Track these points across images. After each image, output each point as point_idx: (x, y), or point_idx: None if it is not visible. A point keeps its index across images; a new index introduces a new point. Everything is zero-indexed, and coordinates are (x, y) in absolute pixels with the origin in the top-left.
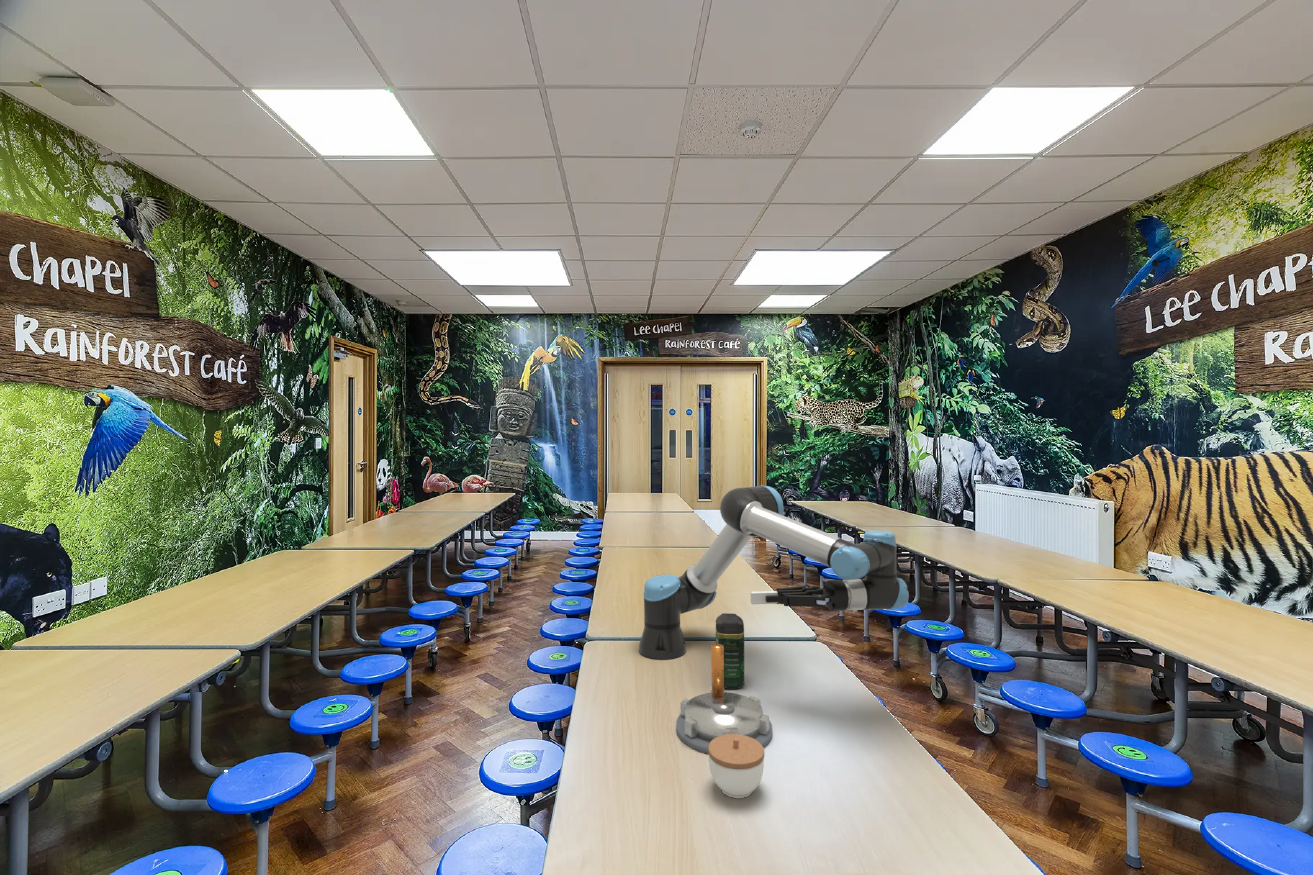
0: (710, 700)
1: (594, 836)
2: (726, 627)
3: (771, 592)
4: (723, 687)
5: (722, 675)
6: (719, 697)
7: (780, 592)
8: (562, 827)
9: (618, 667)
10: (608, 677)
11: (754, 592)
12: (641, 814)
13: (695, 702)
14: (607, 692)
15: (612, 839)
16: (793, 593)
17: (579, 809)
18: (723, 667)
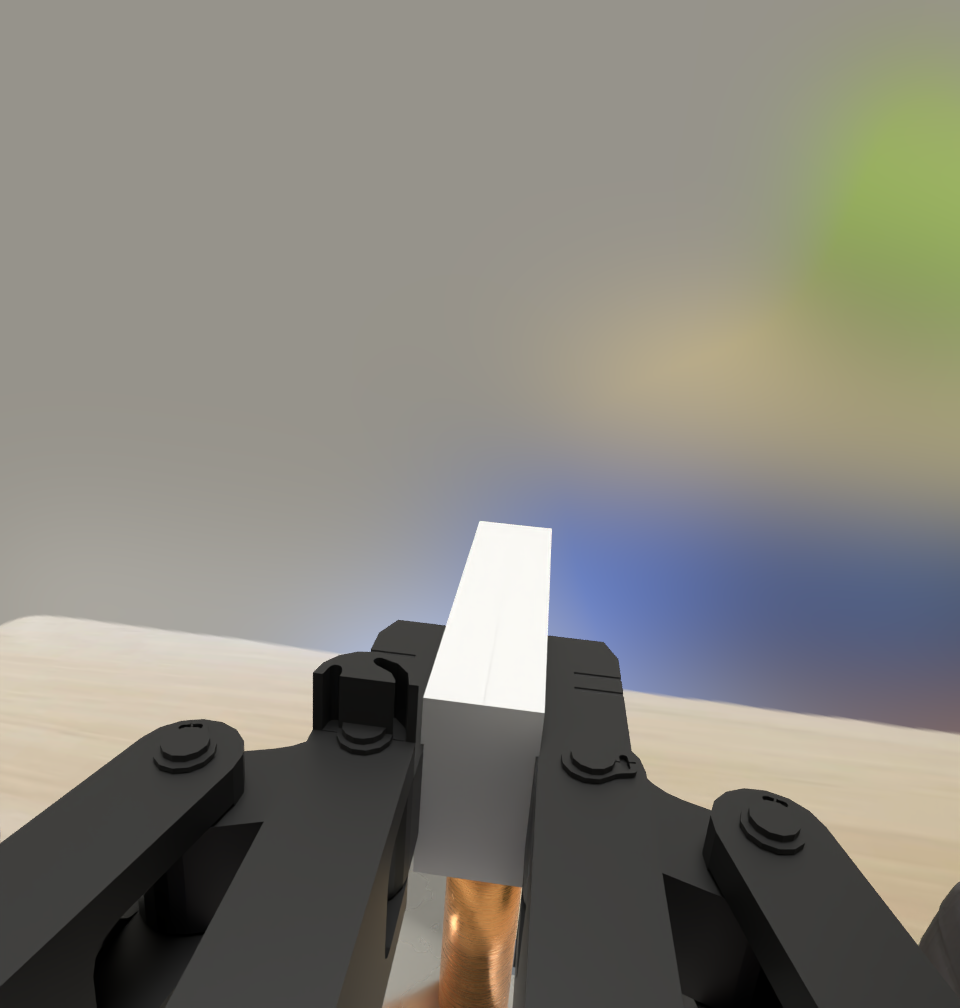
0: (418, 940)
1: (42, 650)
2: (943, 936)
3: (461, 641)
4: (453, 986)
5: (450, 921)
6: (438, 994)
7: (328, 684)
8: (110, 623)
9: (938, 794)
10: (826, 756)
11: (514, 540)
12: (31, 713)
13: (417, 873)
14: (697, 740)
15: (6, 668)
16: (230, 977)
17: (142, 643)
18: (462, 895)
